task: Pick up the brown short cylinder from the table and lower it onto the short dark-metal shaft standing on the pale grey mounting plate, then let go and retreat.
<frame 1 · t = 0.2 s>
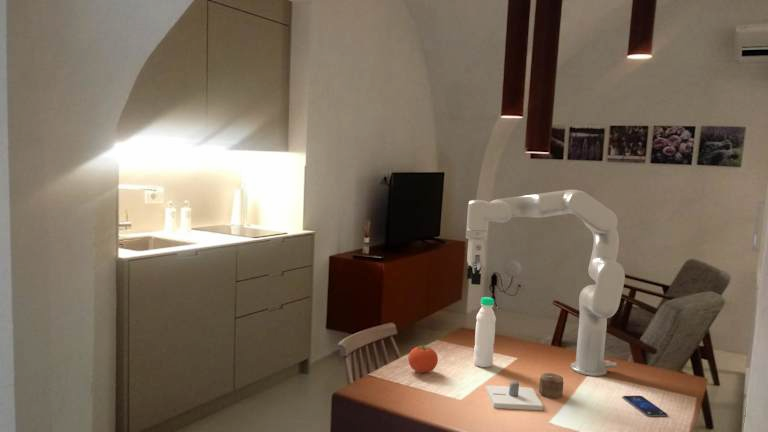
hand: (473, 281, 214), 31 cm above the table, fingers open, 9 cm apart
brown short cylinder: (550, 394, 192), on the table
water bottle: (482, 365, 217), on the table
tomato: (422, 372, 206), on the table
smartphone: (644, 408, 187), on the table
plate: (513, 399, 186), on the table
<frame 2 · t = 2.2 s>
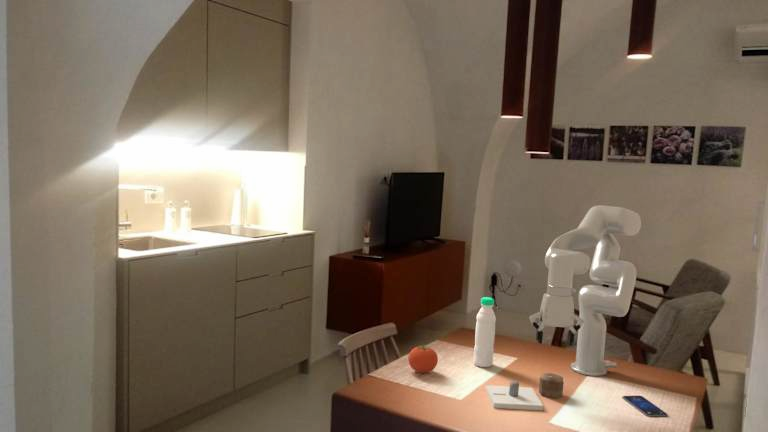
hand: (554, 343, 191), 17 cm above the table, fingers open, 9 cm apart
nothing on the table moved.
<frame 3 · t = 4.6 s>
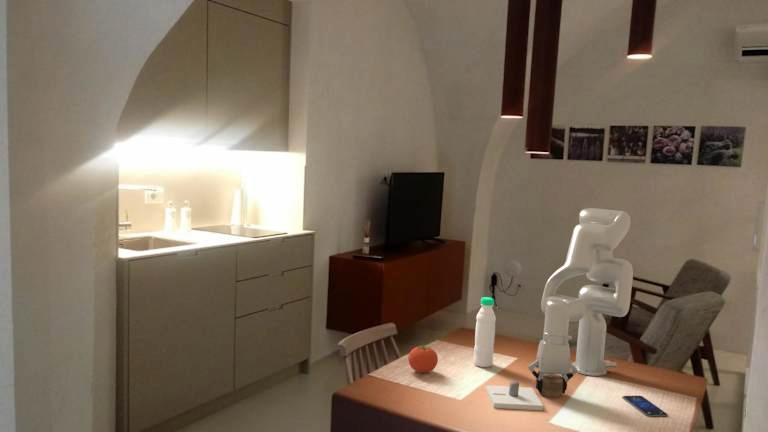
hand: (550, 391, 192), 1 cm above the table, fingers closed on brown short cylinder, 6 cm apart
brown short cylinder: (550, 394, 192), on the table, touching gripper
everything else where it was.
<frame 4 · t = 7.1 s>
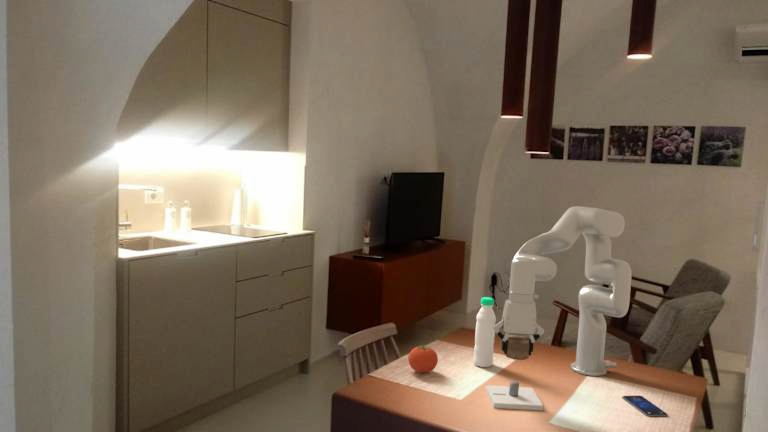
hand: (516, 353, 185), 15 cm above the table, fingers closed on brown short cylinder, 6 cm apart
brown short cylinder: (516, 356, 185), point 14 cm above the table, touching gripper
everything else where it was.
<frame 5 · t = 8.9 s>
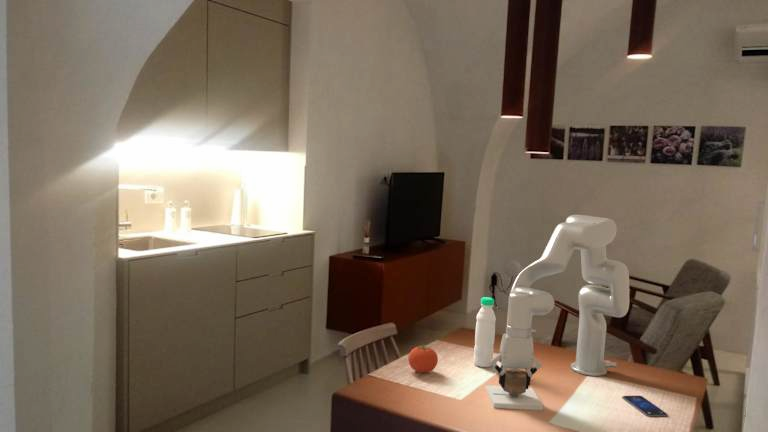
hand: (514, 386, 186), 4 cm above the table, fingers closed on brown short cylinder, 6 cm apart
brown short cylinder: (513, 389, 186), point 3 cm above the table, touching gripper
everything else where it was.
when the fingers open (4 cm above the table, at t = 10.0 s): brown short cylinder drops 1 cm, resting on plate.
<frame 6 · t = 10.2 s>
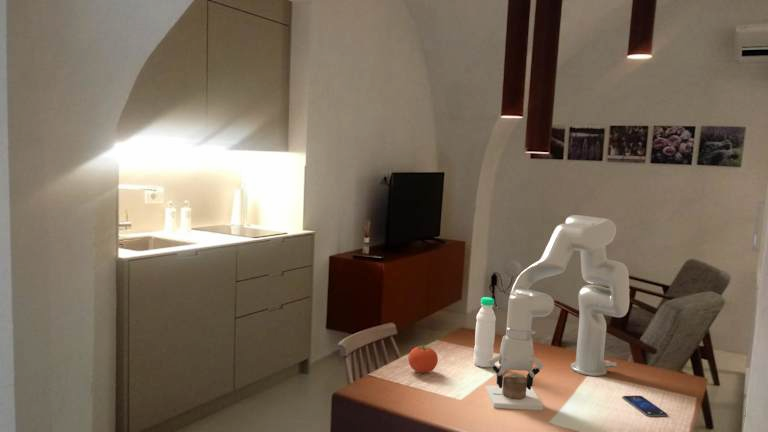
hand: (514, 387, 186), 4 cm above the table, fingers open, 8 cm apart
brown short cylinder: (513, 394, 186), point 2 cm above the table, touching plate
everything else where it was.
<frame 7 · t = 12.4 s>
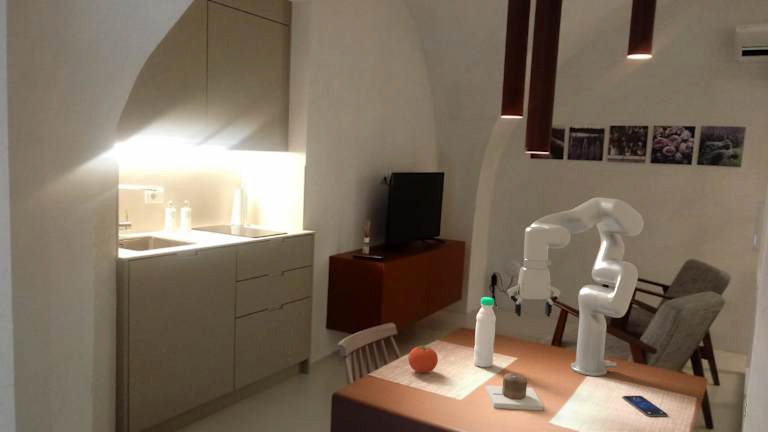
hand: (532, 315, 195), 25 cm above the table, fingers open, 9 cm apart
nothing on the table moved.
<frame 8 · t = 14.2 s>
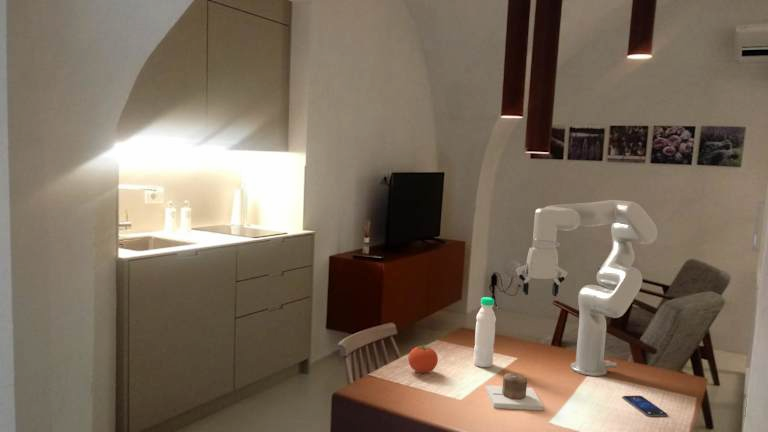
hand: (539, 294, 200), 30 cm above the table, fingers open, 9 cm apart
nothing on the table moved.
at the end: brown short cylinder 0.0 cm off-centre on the plate, point 1.6 cm above the plate's base; brown short cylinder tilted 1°; the gripper is holding nothing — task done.
